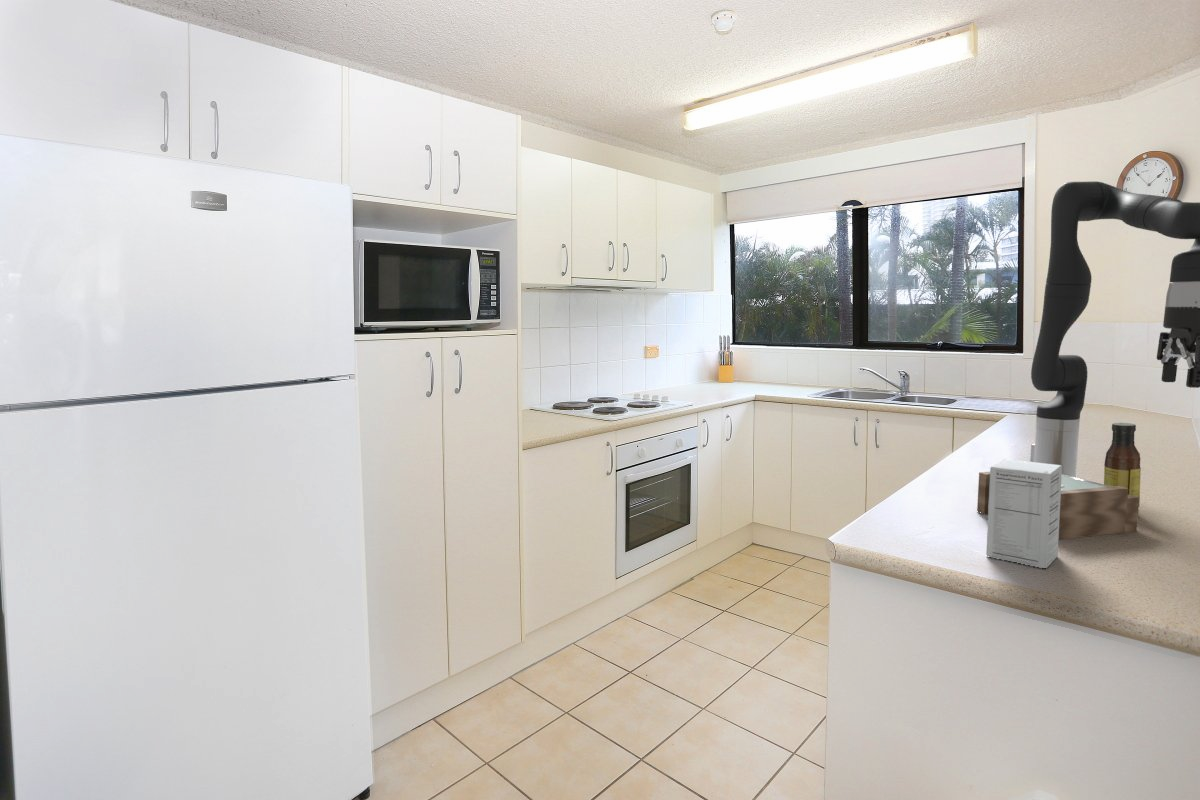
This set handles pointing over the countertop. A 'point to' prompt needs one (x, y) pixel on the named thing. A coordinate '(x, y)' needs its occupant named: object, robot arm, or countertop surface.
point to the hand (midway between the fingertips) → (1180, 384)
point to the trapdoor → (1078, 483)
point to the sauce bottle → (1123, 460)
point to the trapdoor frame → (1084, 509)
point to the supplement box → (1024, 512)
